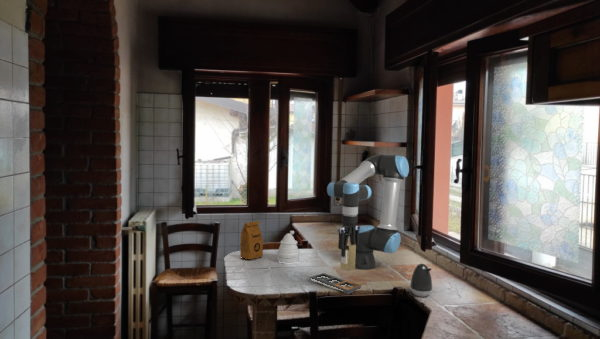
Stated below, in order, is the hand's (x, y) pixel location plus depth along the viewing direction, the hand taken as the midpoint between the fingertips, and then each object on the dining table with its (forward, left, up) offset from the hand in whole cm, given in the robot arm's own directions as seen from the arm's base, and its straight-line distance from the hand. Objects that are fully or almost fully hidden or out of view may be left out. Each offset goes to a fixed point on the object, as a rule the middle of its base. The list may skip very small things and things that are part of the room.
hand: (348, 261), depth 225 cm
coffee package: (+4, -72, -14) cm, 73 cm away
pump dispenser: (-22, +27, -14) cm, 38 cm away
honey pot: (-9, -54, -14) cm, 56 cm away
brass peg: (0, 0, -3) cm, 3 cm away
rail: (0, -8, -14) cm, 16 cm away
